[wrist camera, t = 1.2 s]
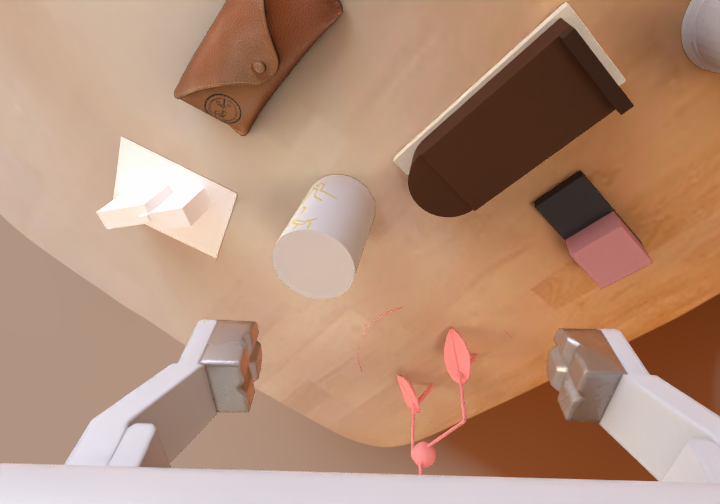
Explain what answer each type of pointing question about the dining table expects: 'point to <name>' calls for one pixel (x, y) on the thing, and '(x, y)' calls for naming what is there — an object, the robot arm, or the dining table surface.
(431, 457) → the figurine
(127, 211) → the napkin holder
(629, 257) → the two-tone stepped block
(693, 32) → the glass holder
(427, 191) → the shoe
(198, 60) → the sunglasses case
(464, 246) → the dining table surface
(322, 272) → the cup
